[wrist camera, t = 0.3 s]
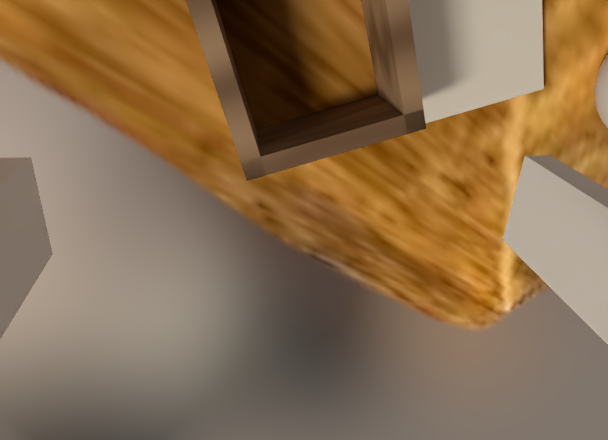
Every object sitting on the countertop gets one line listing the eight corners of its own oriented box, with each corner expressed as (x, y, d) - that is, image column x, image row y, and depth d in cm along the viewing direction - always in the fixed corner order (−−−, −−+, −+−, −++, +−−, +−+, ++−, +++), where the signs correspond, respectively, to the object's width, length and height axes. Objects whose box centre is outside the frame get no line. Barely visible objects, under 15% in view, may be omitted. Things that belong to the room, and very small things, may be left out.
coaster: (389, -20, 38) (392, -20, 37) (536, -63, 38) (541, -63, 37) (411, 124, 43) (414, 126, 43) (539, 87, 43) (543, 88, 43)
